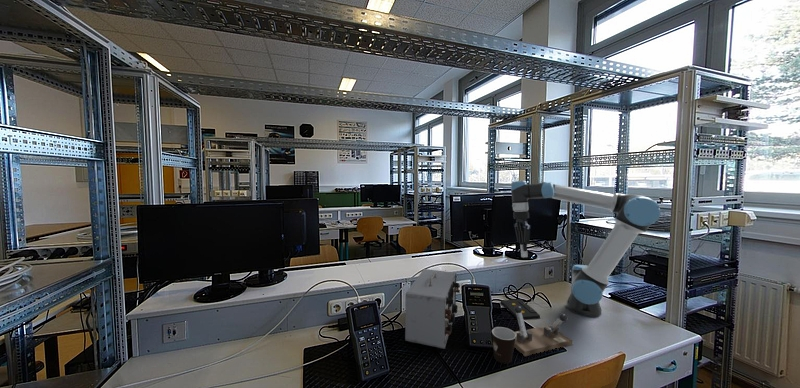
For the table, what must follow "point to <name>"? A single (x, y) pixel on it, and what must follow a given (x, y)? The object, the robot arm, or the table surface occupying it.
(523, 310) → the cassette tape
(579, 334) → the table surface
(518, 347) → the switch base
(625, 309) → the table surface
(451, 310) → the vintage electronic device
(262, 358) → the table surface
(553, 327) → the lever
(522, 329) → the lever
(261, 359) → the table surface
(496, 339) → the coffee mug
